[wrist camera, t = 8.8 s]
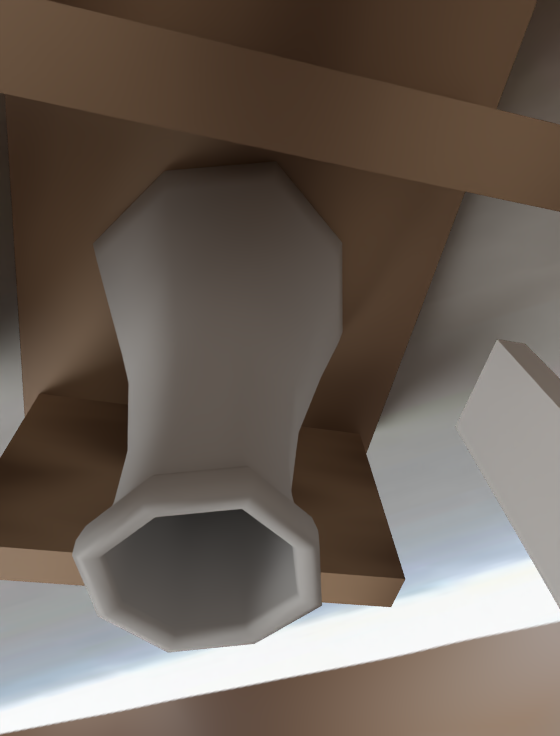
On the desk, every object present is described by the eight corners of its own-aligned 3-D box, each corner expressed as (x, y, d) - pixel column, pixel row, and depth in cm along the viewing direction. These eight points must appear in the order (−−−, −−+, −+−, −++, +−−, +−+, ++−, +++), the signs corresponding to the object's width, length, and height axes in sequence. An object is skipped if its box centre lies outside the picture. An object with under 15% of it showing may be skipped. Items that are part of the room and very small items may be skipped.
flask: (294, 109, 13) (400, 213, 4) (376, 341, 16) (521, 647, 8) (47, 223, 14) (-266, 490, 5) (175, 417, 17) (112, 759, 9)
